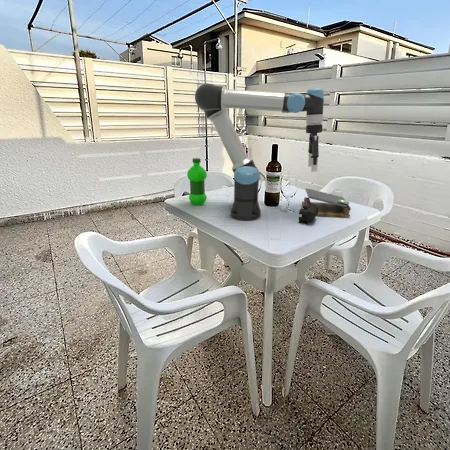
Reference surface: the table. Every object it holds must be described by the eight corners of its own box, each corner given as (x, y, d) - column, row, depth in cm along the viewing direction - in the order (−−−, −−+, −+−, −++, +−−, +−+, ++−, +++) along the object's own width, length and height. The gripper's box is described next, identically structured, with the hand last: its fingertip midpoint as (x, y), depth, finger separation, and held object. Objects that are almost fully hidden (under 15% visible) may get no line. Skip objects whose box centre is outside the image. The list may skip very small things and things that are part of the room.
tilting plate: (308, 198, 145) (310, 193, 144) (305, 189, 160) (306, 185, 159) (348, 207, 144) (350, 203, 143) (341, 198, 159) (343, 194, 158)
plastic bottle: (198, 208, 158) (196, 161, 149) (184, 204, 165) (182, 158, 155) (210, 203, 165) (210, 158, 156) (197, 200, 172) (196, 156, 163)
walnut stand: (305, 215, 147) (306, 205, 145) (301, 204, 165) (302, 195, 163) (349, 218, 144) (351, 207, 142) (341, 206, 162) (342, 196, 160)
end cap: (313, 225, 135) (315, 211, 132) (297, 223, 138) (299, 209, 135) (317, 219, 143) (319, 205, 140) (302, 216, 146) (304, 203, 143)
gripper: (326, 124, 128) (324, 173, 135) (318, 122, 151) (316, 164, 158) (308, 126, 129) (307, 174, 137) (303, 123, 152) (302, 164, 160)
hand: (312, 168), depth 148 cm, fingers open, 13 cm apart
